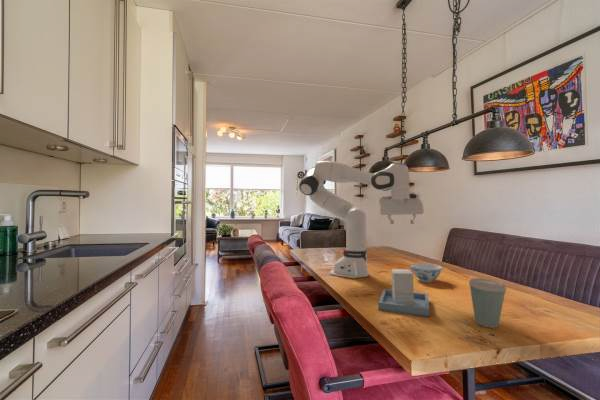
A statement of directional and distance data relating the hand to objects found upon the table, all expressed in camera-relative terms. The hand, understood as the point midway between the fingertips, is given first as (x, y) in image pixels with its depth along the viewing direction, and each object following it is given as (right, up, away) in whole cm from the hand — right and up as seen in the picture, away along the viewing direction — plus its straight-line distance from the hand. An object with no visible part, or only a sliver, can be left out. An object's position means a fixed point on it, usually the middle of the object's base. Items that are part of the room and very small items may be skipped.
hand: (402, 223), depth 138 cm
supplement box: (-9, -30, -24) cm, 40 cm away
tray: (-8, -31, -25) cm, 41 cm away
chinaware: (+16, -31, +10) cm, 37 cm away
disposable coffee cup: (+13, -31, -43) cm, 55 cm away
